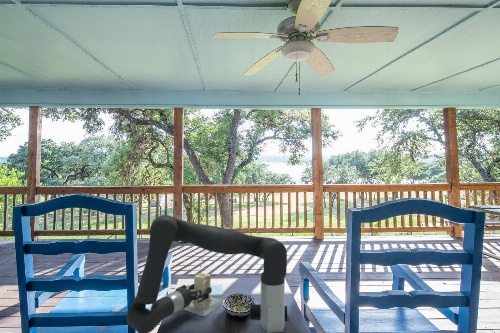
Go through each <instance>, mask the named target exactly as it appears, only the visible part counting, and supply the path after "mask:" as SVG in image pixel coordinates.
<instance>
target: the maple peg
mask: <svg viewBox="0 0 500 333" xmlns="http://www.w3.org/2000/svg"><path fill="white" fill-rule="evenodd" d="M193 281H194V282H193V284H194V290H199V289H200V290H205V289H207V288H209V287H210V285H211V274H209V273H204V272H199V273H198V274H196V275H194V276H193ZM202 293H204V292H202ZM202 293H201V294H202ZM198 295H199V292H197V296H198ZM210 297H211V296H210V293H209V298H208V299H206V300H204V301H202V302H198V300H194V303H195V304H198V305H201V306H204V305H206V304H207V303H209V302H210Z"/></svg>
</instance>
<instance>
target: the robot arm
mask: <svg viewBox="0 0 500 333" xmlns="http://www.w3.org/2000/svg"><path fill="white" fill-rule="evenodd" d="M174 241H180V242H185V243H189V244H191V245H193V246H196V247H198V248H201V249H203V250H204V251H208V252H212V253H217V254H223V255H241V254H243V255H250V256H254V257H256V258H260V259H262V260H263V271H262V272H261V274H260V305H261V318H260V328H261V329H262V330H263V331H264V332H266V333H283V332H284V329H285V319H284V306H285V279H286V276H287V272H288V271H287V269H288V268H287V267H288V266H287V265H288V264H287V263H288V252H287V247H286V246H285V245H284V244H283V243H282V242H281V241H280V240H278V239H276V238H275V237H274V238H273V237H268V236H267V237H265V236H264V237H263V236H256V235H251V234H250V235H249V234H246V233H243V232H240V231H237V230H233V229H230V228H227V227H226V228H225V227H221V226H215V225H209V224H203V223H202V224H201V223H196V222H190V221H187V220H184V219H180V218H177V217H176V216H175V217H174V216H172V215H168V214H161V215H159V216H156V217H155V218H154V219H153V220H152V221H151V224H150V227H149V243H148V244H149V245H148V252H147V257H146V261H145V265H144V268H143V270H142V273H141V277H140V281H139V284H138V285H139V286H138V289H137V292H136V296H135V297H134V299H133V300H132V302H131V305H130V307H129V309H127V313H126V323H127V325H128V326H129V327H130V328H132V329H134V330H135V331H136V332H138V333H151V332H152V331H153V330H154V329H155V328H157V326H159V325H160V324H161V322H163V320H164V319H167V318H169V317H171V315H174V314H177V313H178V312H180V311H182V309H184V308H186V307H187V306H189V305H190V303H191V301H193V300H198V302H202V301H204V300H206V299H208V298H209V293H211V292H212V288H211V287H209V288H207V289H205V290H200V289H199V290H194V283H192V284H189V285H188V284H187V285H186V284H183V285H181V286H180V287H177V288H175V290H174V291H172V292H170V293H168V294H166V295H165V296H162V297H161V298H159V299H158V297H159V293H160V288H161V285H162V279H163V275H164V270H165V265H166V260H167V257H168V255H169V251H170V249H171V247H172V245H173V242H174ZM197 292H199V295H198V296H197ZM202 292H204V293H202ZM201 293H202V294H201ZM147 305H148V306H149V305H151V306H150V309H149V308H147Z"/></svg>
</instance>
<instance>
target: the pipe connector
mask: <svg viewBox="0 0 500 333" xmlns="http://www.w3.org/2000/svg"><path fill="white" fill-rule="evenodd" d="M249 307H250V308H249V316H250V317H249V318H250V319H252V318H254V319H261V304H260V303H259V304H258V303H257V304H254V303H253V304H252V303H250V305H249ZM284 320H288V305H284Z"/></svg>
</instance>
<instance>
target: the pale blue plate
mask: <svg viewBox="0 0 500 333" xmlns="http://www.w3.org/2000/svg"><path fill="white" fill-rule="evenodd" d="M210 287H211V288H212V292H211V293H210V297H222V296H224V290H223V284H210Z"/></svg>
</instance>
